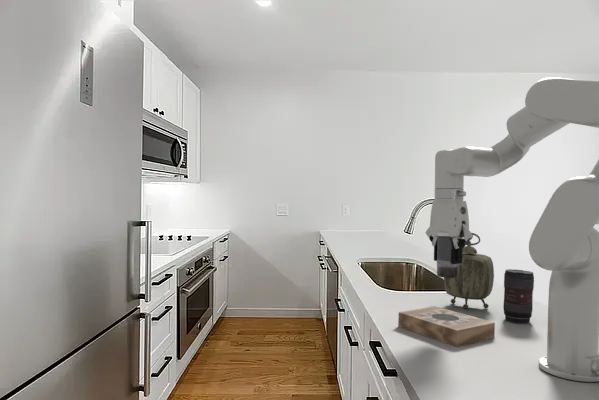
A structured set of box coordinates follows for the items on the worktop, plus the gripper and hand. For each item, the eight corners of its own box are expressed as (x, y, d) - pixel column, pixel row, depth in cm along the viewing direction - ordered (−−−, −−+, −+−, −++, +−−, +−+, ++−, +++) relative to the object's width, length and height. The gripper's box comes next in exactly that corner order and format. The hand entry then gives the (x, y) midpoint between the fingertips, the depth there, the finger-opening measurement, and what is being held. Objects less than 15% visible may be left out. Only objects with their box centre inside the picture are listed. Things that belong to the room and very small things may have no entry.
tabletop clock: (493, 308, 156) (495, 233, 156) (487, 314, 148) (489, 234, 148) (449, 302, 164) (450, 230, 164) (441, 307, 156) (443, 232, 156)
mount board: (494, 337, 124) (494, 322, 123) (456, 346, 115) (457, 330, 115) (434, 319, 140) (435, 306, 140) (398, 326, 132) (398, 312, 132)
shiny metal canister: (463, 277, 127) (464, 232, 127) (448, 278, 124) (449, 233, 124) (446, 273, 132) (447, 231, 132) (431, 275, 129) (432, 231, 129)
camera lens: (536, 325, 136) (537, 273, 136) (506, 323, 138) (507, 272, 138) (528, 318, 144) (529, 269, 144) (500, 316, 146) (501, 268, 146)
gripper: (484, 196, 123) (483, 265, 123) (434, 195, 137) (433, 257, 137) (465, 195, 119) (464, 267, 119) (415, 195, 133) (414, 259, 133)
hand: (447, 261), depth 128 cm, fingers closed on shiny metal canister, 5 cm apart
